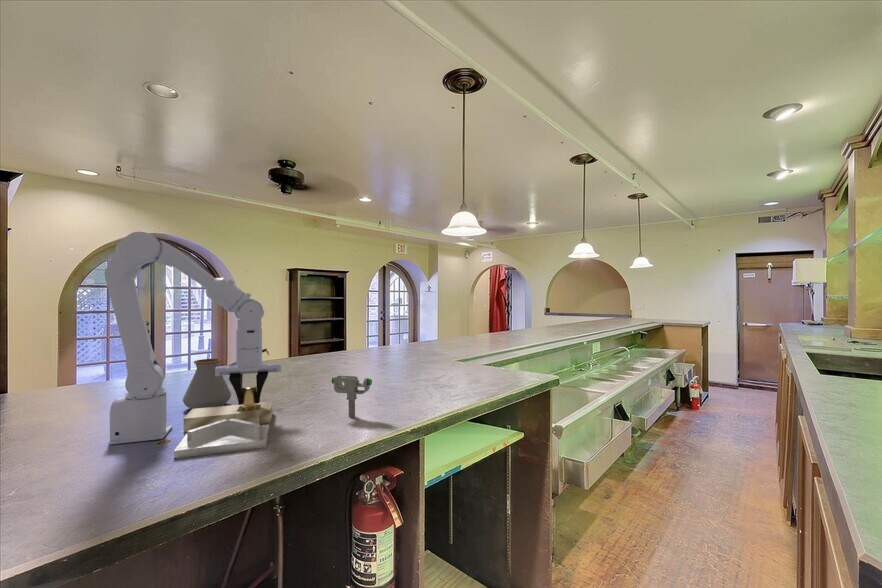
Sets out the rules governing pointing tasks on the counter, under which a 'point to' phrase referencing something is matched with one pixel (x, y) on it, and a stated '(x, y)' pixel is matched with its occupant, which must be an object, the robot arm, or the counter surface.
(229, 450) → the v-block
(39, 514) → the counter surface
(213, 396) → the coffee pot
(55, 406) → the counter surface
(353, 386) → the mechanical component
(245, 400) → the axle
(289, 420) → the counter surface
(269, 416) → the beam
